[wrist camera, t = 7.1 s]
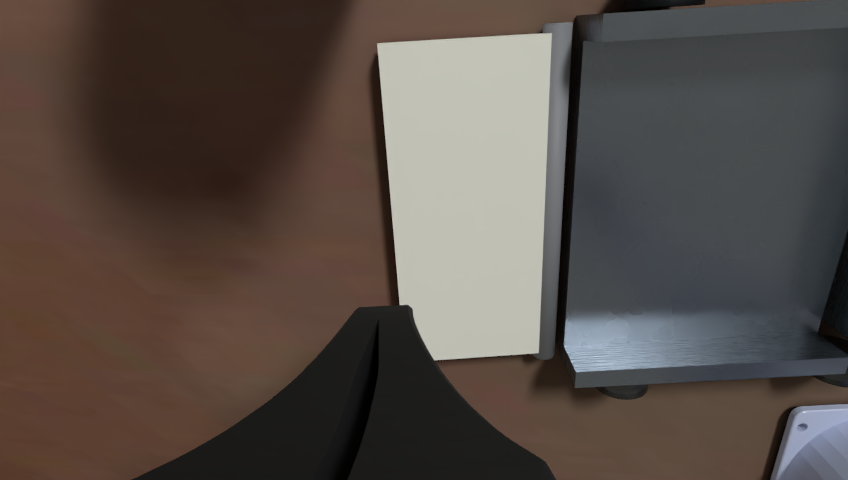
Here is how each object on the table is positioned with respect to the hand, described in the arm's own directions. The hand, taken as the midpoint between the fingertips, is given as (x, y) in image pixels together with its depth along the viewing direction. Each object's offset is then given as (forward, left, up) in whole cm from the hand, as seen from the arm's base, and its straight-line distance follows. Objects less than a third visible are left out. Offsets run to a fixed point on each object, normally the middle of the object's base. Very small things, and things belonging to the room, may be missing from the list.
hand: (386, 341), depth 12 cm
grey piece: (0, -15, -9) cm, 17 cm away
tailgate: (0, -6, -8) cm, 10 cm away
